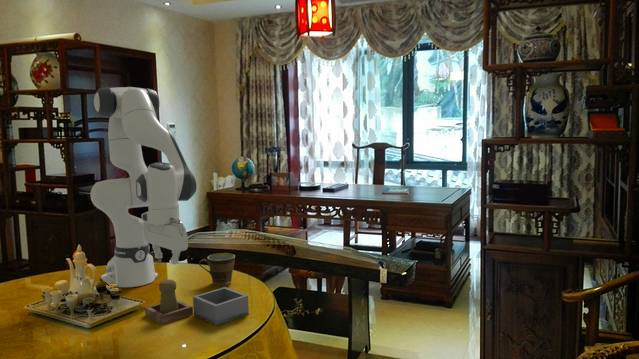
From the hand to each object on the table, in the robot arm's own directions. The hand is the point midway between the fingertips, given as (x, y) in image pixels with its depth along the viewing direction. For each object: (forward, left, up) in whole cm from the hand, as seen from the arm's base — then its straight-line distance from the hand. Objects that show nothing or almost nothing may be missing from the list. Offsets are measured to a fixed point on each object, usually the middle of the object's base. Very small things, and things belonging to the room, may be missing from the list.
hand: (166, 261), depth 158 cm
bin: (+12, +11, -17) cm, 24 cm away
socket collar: (0, 0, -17) cm, 17 cm away
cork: (0, 0, -18) cm, 18 cm away
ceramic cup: (-14, +28, -18) cm, 36 cm away
